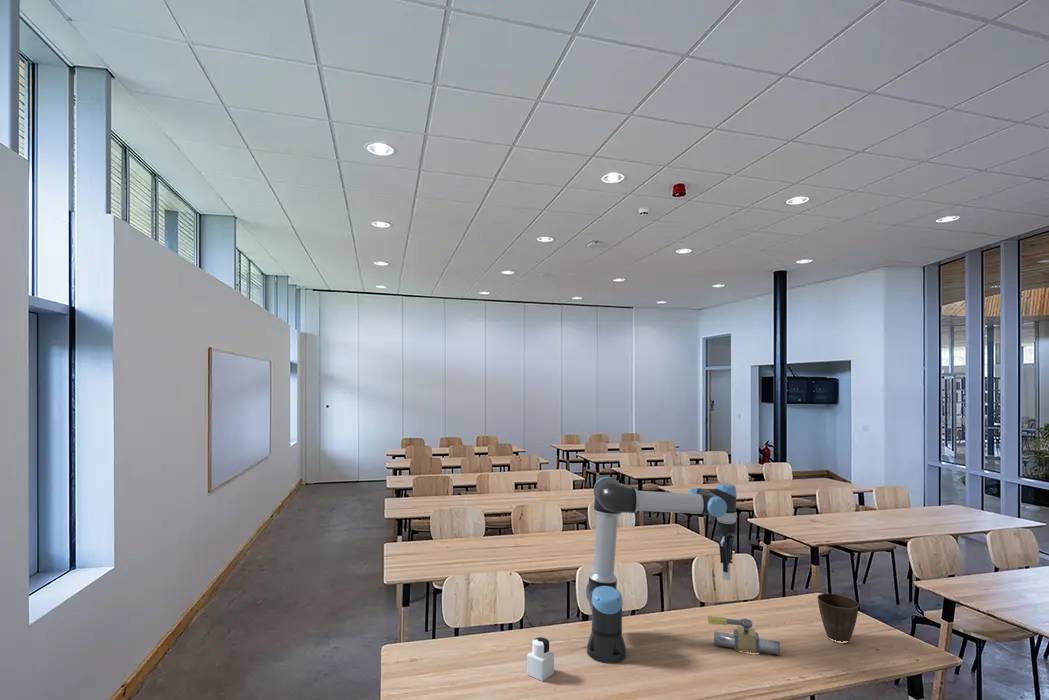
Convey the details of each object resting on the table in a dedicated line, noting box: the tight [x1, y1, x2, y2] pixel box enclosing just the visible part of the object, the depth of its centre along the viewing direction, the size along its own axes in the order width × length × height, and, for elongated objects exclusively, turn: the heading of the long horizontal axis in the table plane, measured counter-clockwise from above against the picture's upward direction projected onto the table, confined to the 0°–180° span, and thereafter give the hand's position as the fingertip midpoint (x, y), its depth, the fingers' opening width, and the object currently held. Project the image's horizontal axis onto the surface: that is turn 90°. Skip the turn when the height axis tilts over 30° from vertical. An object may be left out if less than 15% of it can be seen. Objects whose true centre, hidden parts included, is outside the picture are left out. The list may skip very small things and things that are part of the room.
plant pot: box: [817, 593, 860, 642], centre depth 226 cm, size 15×15×16 cm
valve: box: [713, 625, 781, 656], centre depth 216 cm, size 24×7×9 cm, turn 72°
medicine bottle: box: [526, 637, 555, 682], centre depth 195 cm, size 7×7×12 cm
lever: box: [707, 615, 753, 628], centre depth 217 cm, size 17×4×2 cm, turn 80°
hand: (726, 579), depth 226 cm, fingers closed
